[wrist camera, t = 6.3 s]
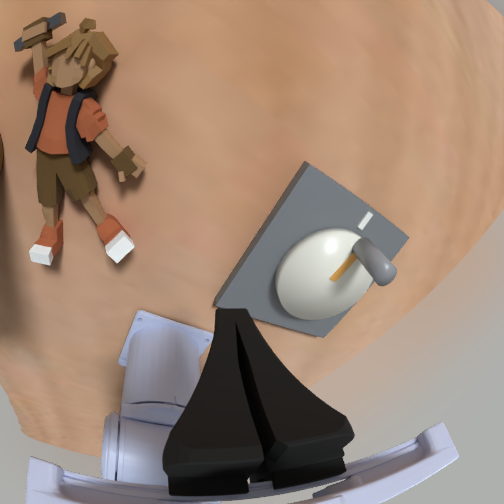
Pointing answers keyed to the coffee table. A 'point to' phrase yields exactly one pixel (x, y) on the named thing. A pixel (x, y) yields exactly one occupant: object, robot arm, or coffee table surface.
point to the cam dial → (329, 273)
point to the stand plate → (291, 231)
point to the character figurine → (72, 131)
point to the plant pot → (1, 153)
